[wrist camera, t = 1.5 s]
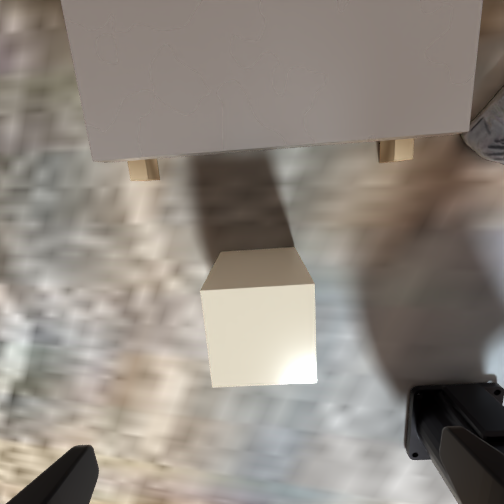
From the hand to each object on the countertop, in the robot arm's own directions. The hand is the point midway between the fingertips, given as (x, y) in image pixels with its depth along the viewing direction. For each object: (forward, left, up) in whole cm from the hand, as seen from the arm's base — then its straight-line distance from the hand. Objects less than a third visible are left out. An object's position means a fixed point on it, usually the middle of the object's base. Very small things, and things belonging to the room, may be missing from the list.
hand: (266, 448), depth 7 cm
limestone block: (0, 0, -13) cm, 13 cm away
